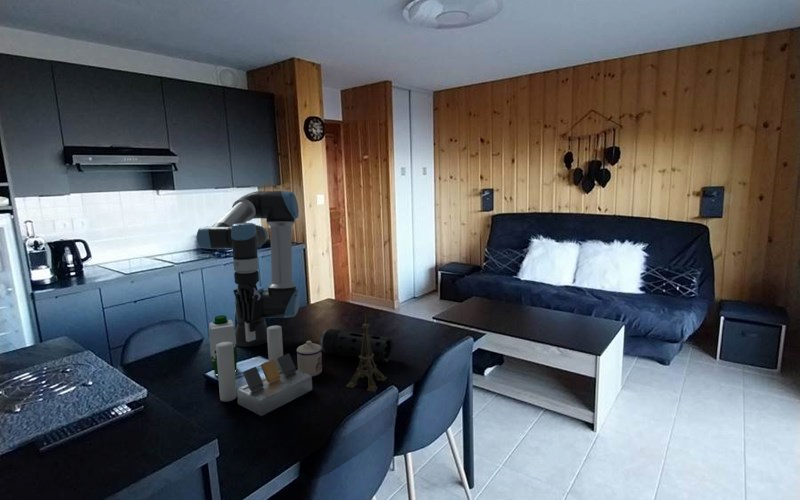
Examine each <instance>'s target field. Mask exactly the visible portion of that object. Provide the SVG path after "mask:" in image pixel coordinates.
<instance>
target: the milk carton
mask: <svg viewBox="0 0 800 500" xmlns="http://www.w3.org/2000/svg"><path fill="white" fill-rule="evenodd" d="M227 318H228V317H227V315H218V316H217V315H216V316H215V317H214V321H213V322H209V324H208V325H209V326H208V337H209V349H210V360H211V364H212V368H213V371H214V374H218V366H217V354H216V345H217V344H219V343H222V342H232V343H233V351H234V365H235V370H236V369H237V368H238V367H237V366H238V350H237V348H238V346H237V345H236V335H235V333H236V332H235V331H236V327H235V324H234V322H233V320H232V319H227ZM236 371H237V370H236Z"/></svg>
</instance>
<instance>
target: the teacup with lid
mask: <svg viewBox="0 0 800 500" xmlns="http://www.w3.org/2000/svg"><path fill="white" fill-rule="evenodd" d="M295 351H296V356H297V370H298V371H301V372H303V373H306V374H308V375H311V376H312V377H315V376H318V375H320V374H321V373H322V372H323V360H322V359H323V355H322V354H323V353H322V351H323V350H322V347H321V346H320V344H318V343H314V342H312V340H307V341H306V343H304V344H302V345H299V346H298V347H297V348H296V350H295Z"/></svg>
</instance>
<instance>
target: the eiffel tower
mask: <svg viewBox="0 0 800 500" xmlns="http://www.w3.org/2000/svg"><path fill="white" fill-rule="evenodd" d="M364 315H365V316H364V317H365V318H364V323H363V324H362V325H361V326H362V327H361V328H362V329H363V332H362V334H363V341H362V350H361V355H359V358H360V359H359V358H358V359H359V362H358V363H359V364H358V366H357V368H356V371H355V372H354V374H353V376H352V377H351V379H350V381H349V383H347V384H346V385H345V387H346V388H347V387H348V388H351V389H352V388H353V389H354V387H356V386H357V385H358V380H359V378H363V379H364V378H365V377H367V379H368V381H367V382H368V383H367V384H368V387H367V389H366V391H369V392H374V393H375V392H376V391H377V390H378V388H379V387H378V386H377V384H376V382H375V381H374V379H373V374H374V376H375V377H376V381H380V382H385V381H386V380H387V379H388V377H387V376H385V375H384V374H383V373H382V371H381V370H380V369H378V367H377V364H376V362H375V361H374V360H373V356H374V354H373V353H372V352H371V346H370V340H369V335H370V334H369V328H370V327H371V326H370V324H369V323H367V318H366V317H367V316H366V312H365V313H364Z"/></svg>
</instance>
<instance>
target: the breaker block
mask: <svg viewBox="0 0 800 500" xmlns="http://www.w3.org/2000/svg"><path fill="white" fill-rule="evenodd" d="M278 372H279V374H280V377H281V379H279V380H277V381H275V382H273V383H270V384H269V383H268V382H267V379H266V377H265V376H264V377H261V379H262V381H263V385H264V386H263V387H262V388H259V389H257V390H255V391H253V392H251V390H250V389H249V387H248V384H247V383H246V384H245V385H242V386H240V387H239V388H238V387H237V388H236V392H237V397H236V399H237V405H239V406H241V407H243V408H245V409H247V410H249V411H251V412H253V413H255V414H256V415H259V416H260V417H264V416H265V415H266V414H268V413H270V412H272V411H274V410H276V409H278V408H281V407H282V406H284V405H286V404H287V403H290V402H292V401H293V400H295V399H297V398H300V397H301V396H303V395H305V394H308V393H309V392H311V391H313V376H311V375H308V374H306V373H303V372H301V371H298V369H296V372H295V373H292V374H290V375H288V376H285V375H284V373H283V371H282V370H279V371H278Z"/></svg>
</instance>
